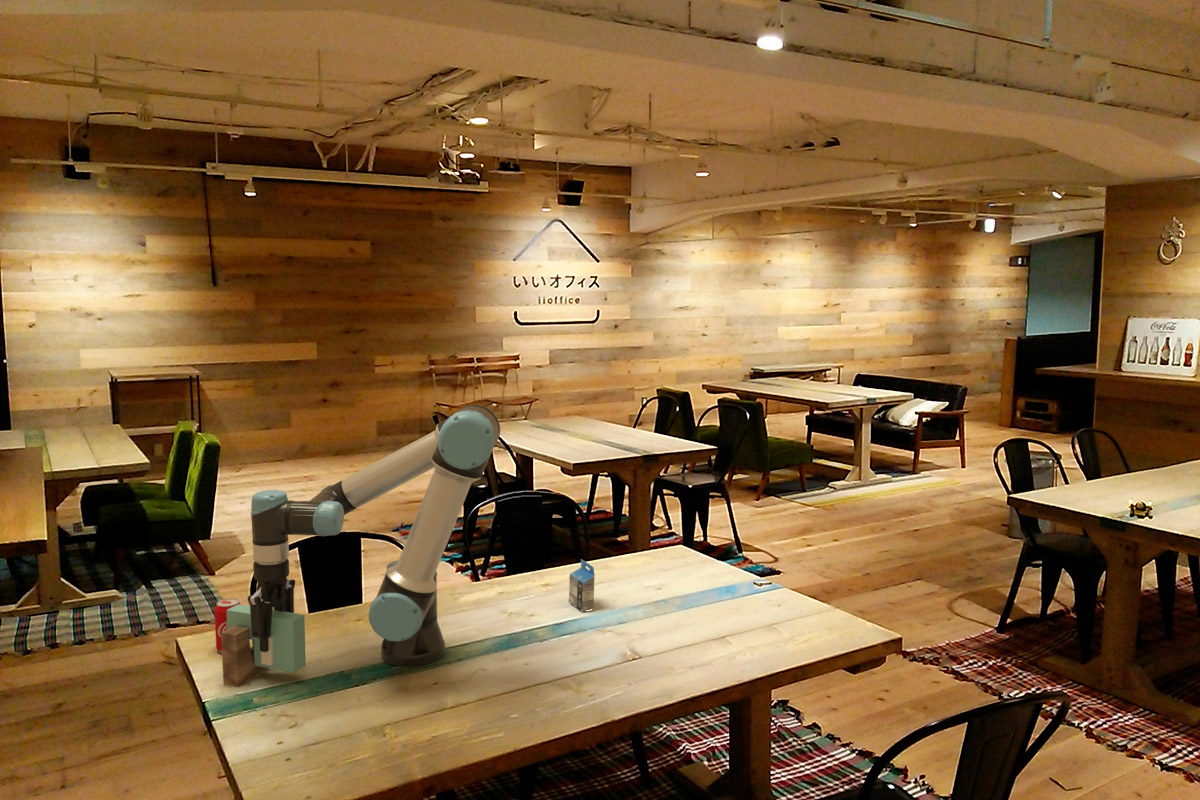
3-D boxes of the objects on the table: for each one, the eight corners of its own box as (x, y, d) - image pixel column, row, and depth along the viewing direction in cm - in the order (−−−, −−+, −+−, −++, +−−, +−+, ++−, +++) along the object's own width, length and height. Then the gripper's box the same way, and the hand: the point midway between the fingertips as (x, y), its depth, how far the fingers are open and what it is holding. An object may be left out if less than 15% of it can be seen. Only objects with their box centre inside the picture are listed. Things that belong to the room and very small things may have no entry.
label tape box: (568, 602, 257) (568, 560, 255) (581, 600, 259) (581, 558, 257) (581, 613, 249) (581, 569, 247) (595, 610, 251) (595, 567, 249)
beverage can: (234, 655, 220) (231, 607, 218) (211, 653, 221) (208, 605, 219) (249, 645, 226) (247, 598, 224) (226, 643, 227) (224, 596, 225)
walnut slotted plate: (279, 662, 216) (277, 613, 215) (238, 687, 203) (235, 635, 201) (265, 659, 217) (263, 611, 216) (223, 684, 204) (221, 632, 203)
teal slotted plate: (305, 665, 207) (304, 614, 206) (294, 672, 204) (292, 620, 202) (240, 653, 213) (238, 604, 212) (228, 660, 209) (226, 610, 208)
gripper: (282, 547, 214) (285, 643, 217) (230, 569, 198) (234, 672, 201) (309, 551, 211) (312, 648, 214) (259, 573, 195) (262, 677, 198)
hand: (274, 659), depth 208 cm, fingers closed on teal slotted plate, 4 cm apart
